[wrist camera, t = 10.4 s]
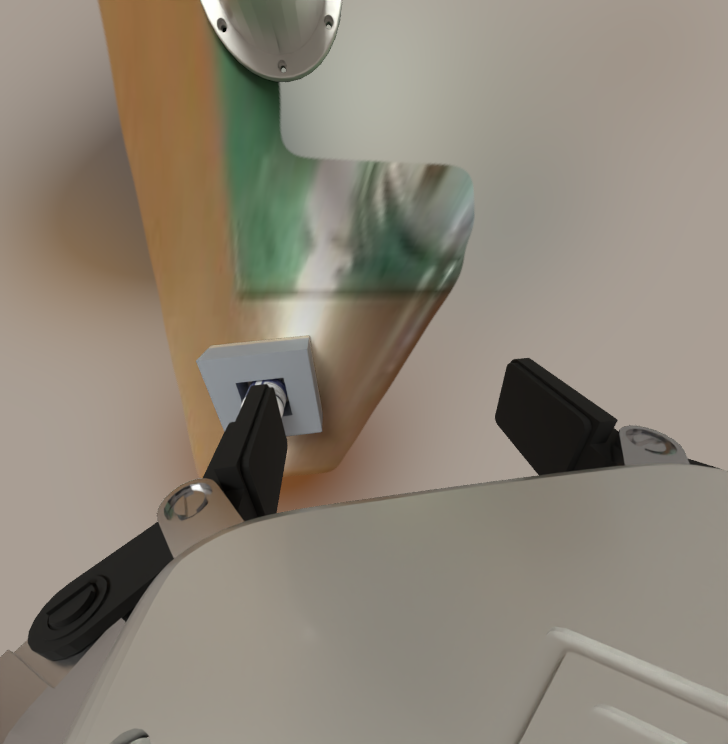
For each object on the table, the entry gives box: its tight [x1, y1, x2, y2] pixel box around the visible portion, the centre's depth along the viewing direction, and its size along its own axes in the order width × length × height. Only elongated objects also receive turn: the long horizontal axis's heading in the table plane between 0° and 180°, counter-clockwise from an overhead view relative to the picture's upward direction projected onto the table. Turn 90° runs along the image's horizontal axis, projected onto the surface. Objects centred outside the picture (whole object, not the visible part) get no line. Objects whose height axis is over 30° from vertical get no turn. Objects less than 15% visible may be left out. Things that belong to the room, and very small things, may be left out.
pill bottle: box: [241, 378, 287, 418], centre depth 38 cm, size 5×5×10 cm
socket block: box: [196, 335, 323, 436], centre depth 41 cm, size 14×14×5 cm
